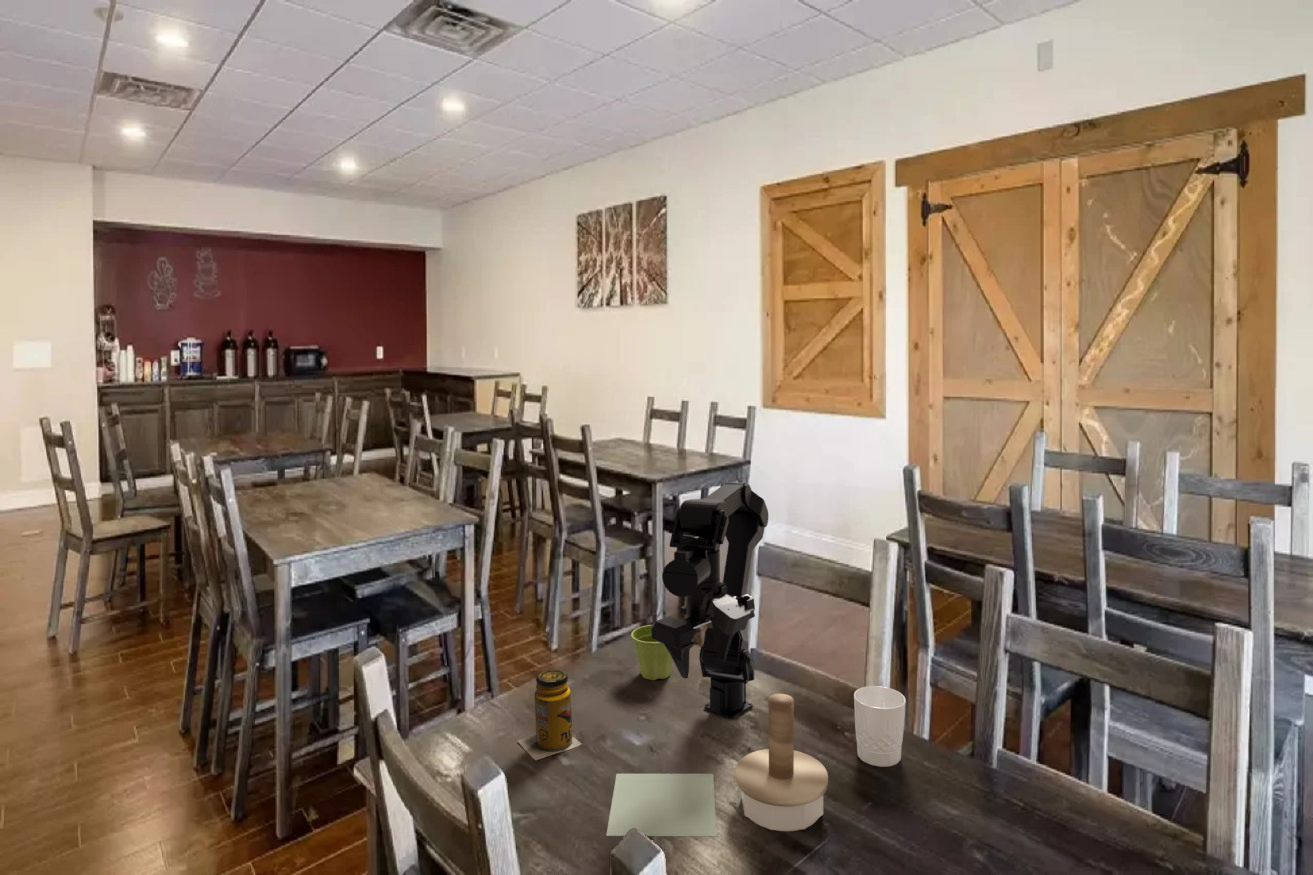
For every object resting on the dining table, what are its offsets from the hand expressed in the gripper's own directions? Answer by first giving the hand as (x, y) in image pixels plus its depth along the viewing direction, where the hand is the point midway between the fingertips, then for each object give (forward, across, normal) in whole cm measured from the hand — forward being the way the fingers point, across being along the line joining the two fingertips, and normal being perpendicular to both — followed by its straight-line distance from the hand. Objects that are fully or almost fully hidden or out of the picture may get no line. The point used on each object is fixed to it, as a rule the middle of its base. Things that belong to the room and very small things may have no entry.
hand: (703, 668), depth 127 cm
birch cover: (+8, -6, -20) cm, 23 cm away
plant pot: (+13, +13, +25) cm, 31 cm away
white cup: (+13, +16, -23) cm, 31 cm away
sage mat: (+13, -17, -7) cm, 23 cm away
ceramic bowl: (+13, -6, -20) cm, 25 cm away
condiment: (+13, -18, +19) cm, 29 cm away
